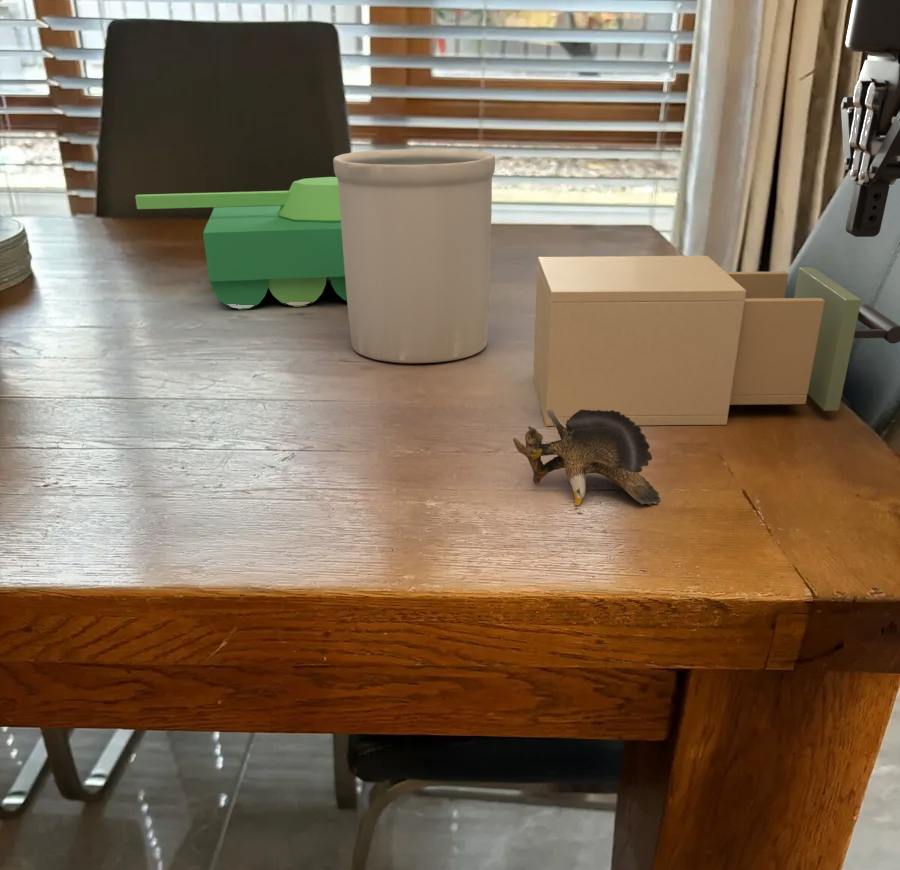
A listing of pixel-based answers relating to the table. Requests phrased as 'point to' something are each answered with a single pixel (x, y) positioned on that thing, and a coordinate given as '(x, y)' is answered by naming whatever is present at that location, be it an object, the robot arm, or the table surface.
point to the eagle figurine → (594, 452)
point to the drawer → (799, 338)
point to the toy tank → (269, 240)
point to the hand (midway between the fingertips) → (861, 234)
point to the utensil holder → (416, 251)
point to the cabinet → (637, 338)
